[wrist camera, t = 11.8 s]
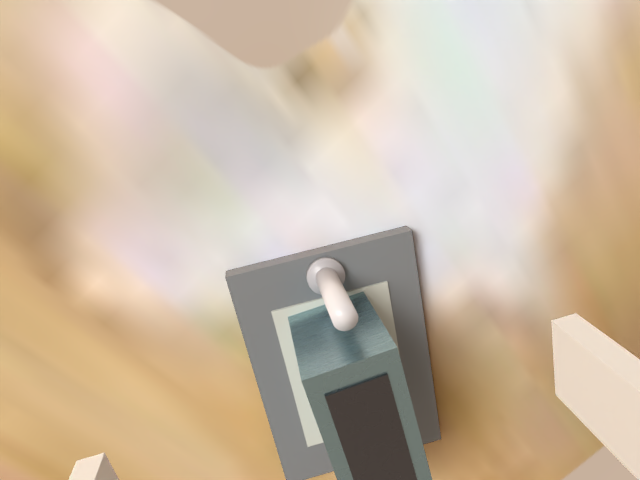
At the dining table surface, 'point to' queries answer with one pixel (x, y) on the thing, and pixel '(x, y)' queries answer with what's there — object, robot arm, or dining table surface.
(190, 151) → the dining table surface
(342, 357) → the block
